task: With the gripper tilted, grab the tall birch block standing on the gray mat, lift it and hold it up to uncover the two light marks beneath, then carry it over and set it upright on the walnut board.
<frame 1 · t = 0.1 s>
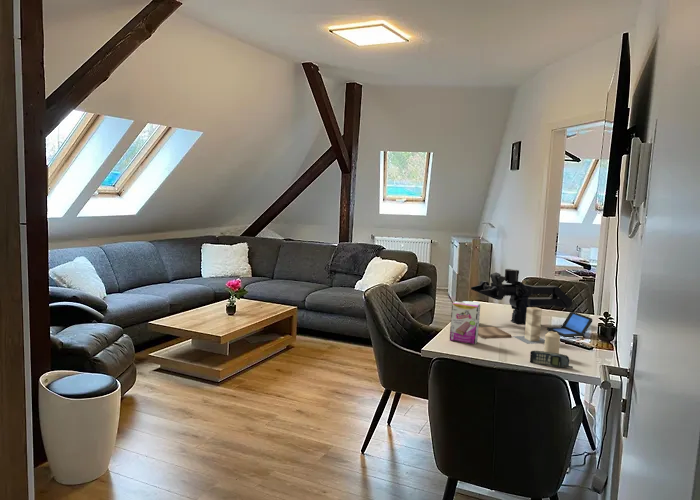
hand: (475, 290, 259), 17 cm above the table, tool horizontal, fingers open, 9 cm apart
small box: (470, 324, 260), on the table
birch block: (531, 339, 235), resting on gray mat
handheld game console: (568, 334, 249), on the table
gray mat: (531, 339, 235), on the table
candy bar box: (463, 341, 227), on the table
mobile phone: (550, 366, 199), on the table
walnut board: (489, 333, 242), on the table
candle: (550, 357, 210), on the table
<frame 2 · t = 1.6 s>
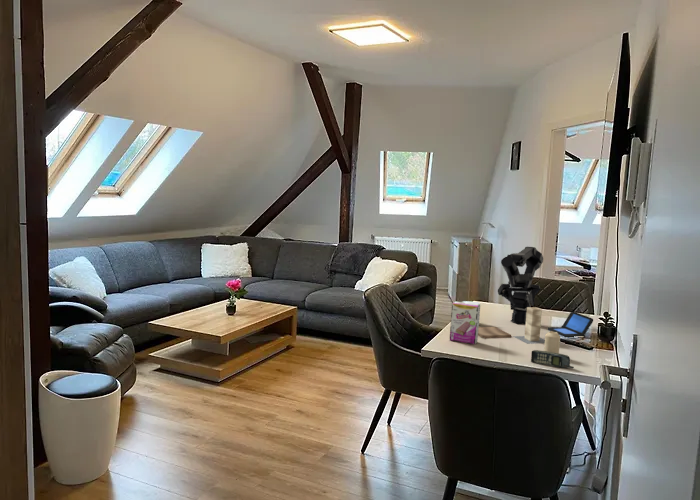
hand: (524, 305, 241), 14 cm above the table, tool tilted 45°, fingers open, 9 cm apart
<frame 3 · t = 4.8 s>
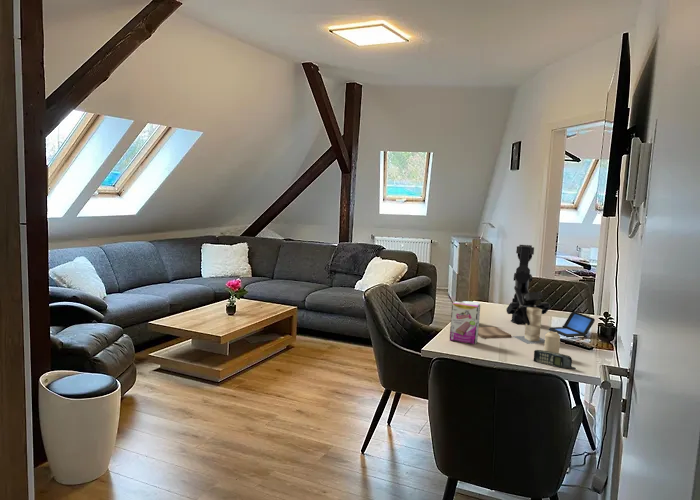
hand: (534, 324, 233), 7 cm above the table, tool tilted 45°, fingers closed on birch block, 5 cm apart
birch block: (531, 339, 235), resting on gray mat, touching gripper
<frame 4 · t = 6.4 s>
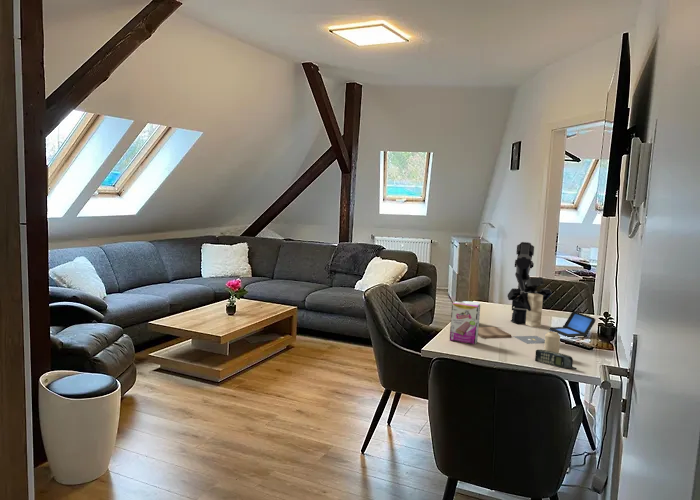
hand: (535, 310, 232), 13 cm above the table, tool tilted 45°, fingers closed on birch block, 5 cm apart
birch block: (532, 325, 234), point 6 cm above the table, touching gripper
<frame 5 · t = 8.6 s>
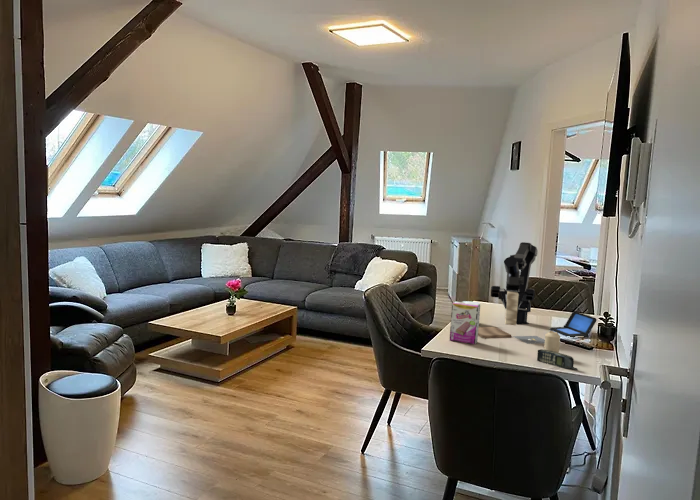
hand: (511, 308, 235), 13 cm above the table, tool tilted 45°, fingers closed on birch block, 5 cm apart
birch block: (510, 323, 236), point 6 cm above the table, touching gripper
when the fingers open (9 cm above the table, at t = 10.7 s): birch block drops 1 cm, resting on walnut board.
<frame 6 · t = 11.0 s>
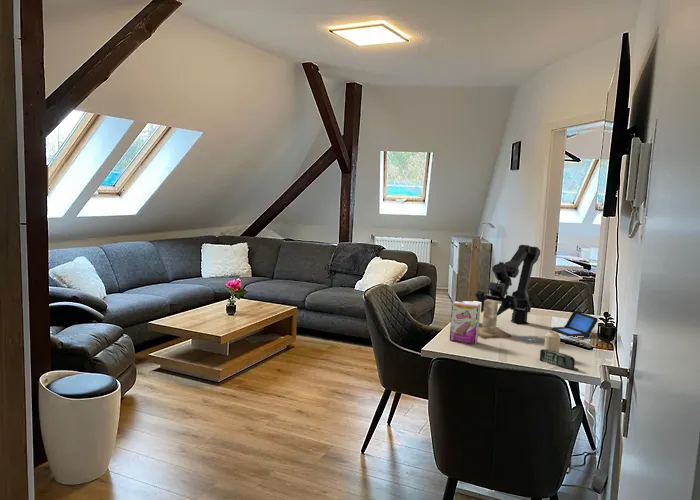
hand: (489, 313, 240), 10 cm above the table, tool tilted 45°, fingers open, 7 cm apart
birch block: (488, 331, 242), point 1 cm above the table, touching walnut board
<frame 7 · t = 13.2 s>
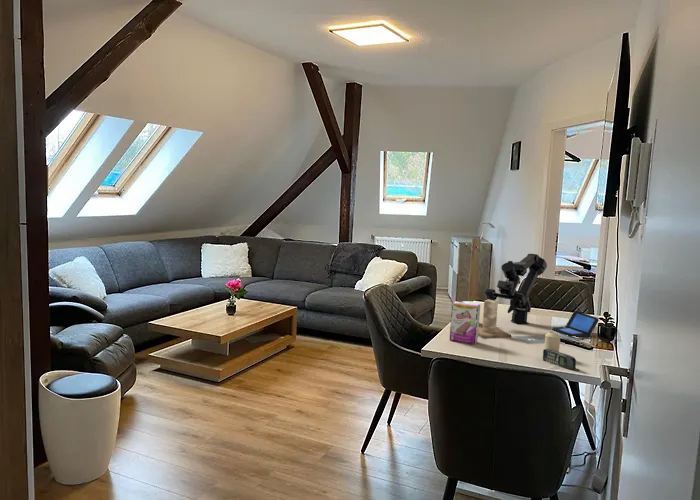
hand: (498, 310, 247), 9 cm above the table, tool tilted 45°, fingers open, 9 cm apart
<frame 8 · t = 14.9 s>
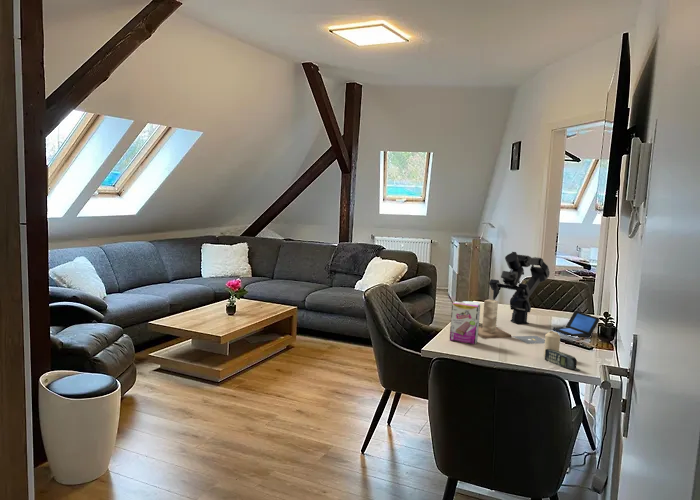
hand: (502, 300, 250), 14 cm above the table, tool tilted 45°, fingers open, 9 cm apart
at the end: birch block inside the target area on the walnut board (0.4 cm from its centre), point 1.2 cm above the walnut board's base; birch block tilted 0°; the gripper is holding nothing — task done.
